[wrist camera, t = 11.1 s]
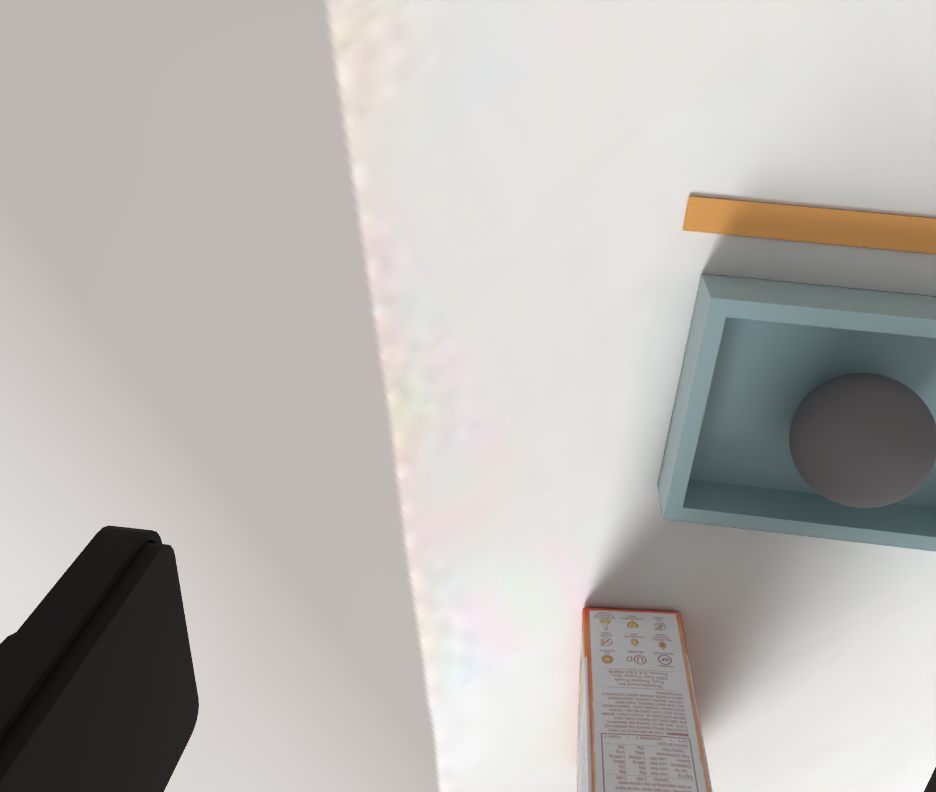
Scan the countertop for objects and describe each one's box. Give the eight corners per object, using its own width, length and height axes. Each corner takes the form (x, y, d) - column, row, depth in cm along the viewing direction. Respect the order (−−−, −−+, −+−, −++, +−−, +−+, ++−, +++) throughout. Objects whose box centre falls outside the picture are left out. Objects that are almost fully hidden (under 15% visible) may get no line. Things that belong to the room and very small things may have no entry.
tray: (688, 196, 36) (697, 214, 34) (1121, 235, 35) (1165, 258, 32) (634, 482, 43) (638, 516, 41) (991, 523, 42) (1019, 561, 39)
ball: (795, 343, 38) (826, 406, 33) (929, 358, 38) (983, 424, 33) (764, 452, 41) (788, 526, 36) (889, 467, 41) (932, 544, 36)
